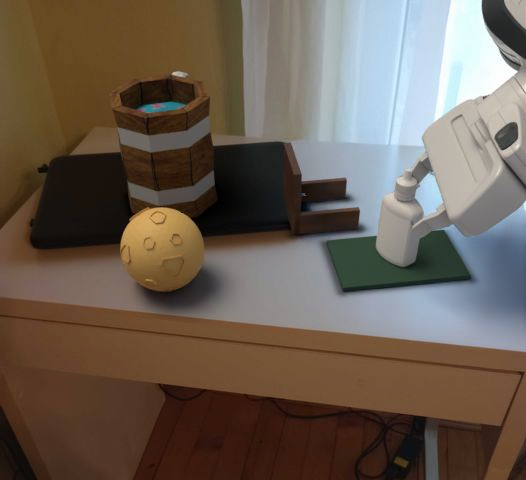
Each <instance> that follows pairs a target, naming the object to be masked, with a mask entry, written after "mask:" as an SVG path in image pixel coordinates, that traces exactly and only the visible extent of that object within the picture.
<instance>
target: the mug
mask: <svg viewBox="0 0 526 480" xmlns="http://www.w3.org/2000/svg"><path fill="white" fill-rule="evenodd" d="M108 94H109V95H108V96H109V100H110V105H111V109H112V113H113V116H114V120H115V123H116V127H117V134H118V146H119V151H120V156H121V161H122V166H123V169H124V172H125V175H126V179H127V180H126V181H127V194H128V200H129V205H130V210H131V213H132V214H134V215H135V214H137V213H139V212H140V211H142V210H143V209H146V208H148V207H149V208H150V209H152V208H161V207H162V208H170V209H174V210H177V211H179V212H183V214H185V215H186V216H188V217H189V218H190V219H191V218H193V219H194V218H198V217H199V216H201V215H202V214H203V213H204V212H205V211H207V209H209V208H210V207H211V206H212V205H214V204H215V203H216V202H217V201H218V200H219V198H218V194H217V192H218V191H217V189H216V183H215V181H216V180H215V170H214V169H215V168H214V167H215V149H214V144H213V138H212V132H211V121H210V108H211V107H210V105H211V104H210V103H211V96H210V94H209V92H208V90H207V88H206V86H205V83H204V82H203V81H202V80H197V79H192V78H190V76H189V74H188V73H187V72H183V71H178V70H177V71H173V72H172V73H171V74H165V75H156V76H155V75H154V76H149V77H139V78H134V79H131V80H130V81H128V82H126V83H124V84H122V85H121V86H119V87H116V88H115V89H114V90H112V91H110V92H108ZM215 194H216V195H215ZM210 198H211V199H210ZM209 199H210V200H209ZM203 204H204V205H203ZM199 207H200V208H199ZM198 208H199V209H198ZM197 209H198V210H197ZM194 210H196V211H194ZM187 211H190V212H187Z"/></svg>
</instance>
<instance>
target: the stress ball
mask: <svg viewBox="0 0 526 480" xmlns="http://www.w3.org/2000/svg"><path fill="white" fill-rule="evenodd" d="M119 250H120V251H119V252H120V258H121V261H122V264H123V266H124V269H125V270H126V272H127V274H129V276H130V277H131V278H132V279H133V280H134V281H135V282H136V283H138V285H140V286H142V287H144V288H146V289H149V290H152V291H156V292H172V291H176V290H178V289H181V288H183V287H185V286H186V285H188V284H189V283H191V282H192V280H194V279H195V277H196V276H197V275H198V274H199V272H200V270H201V268H202V266H203V263H204V260H205V242H204V239H203V235H202V233H201V231H200V229H199V227H198V226H197V224H196V223H195V221H194V220H192V219H191V218H189V217H188V216H186V215H185V214H183V213H181V212H179V211H177V210H174V209H170V208H162V207H161V208H152V209H150V208H149V207H148V208H146V209H143V210H142V211H140V212H139V213H137V214H134V215H132V216H131V217H130V218H129V223H128V224H127V225H126V227H125V228H124V230H123V233H122V235H121V240H120V249H119Z"/></svg>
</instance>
